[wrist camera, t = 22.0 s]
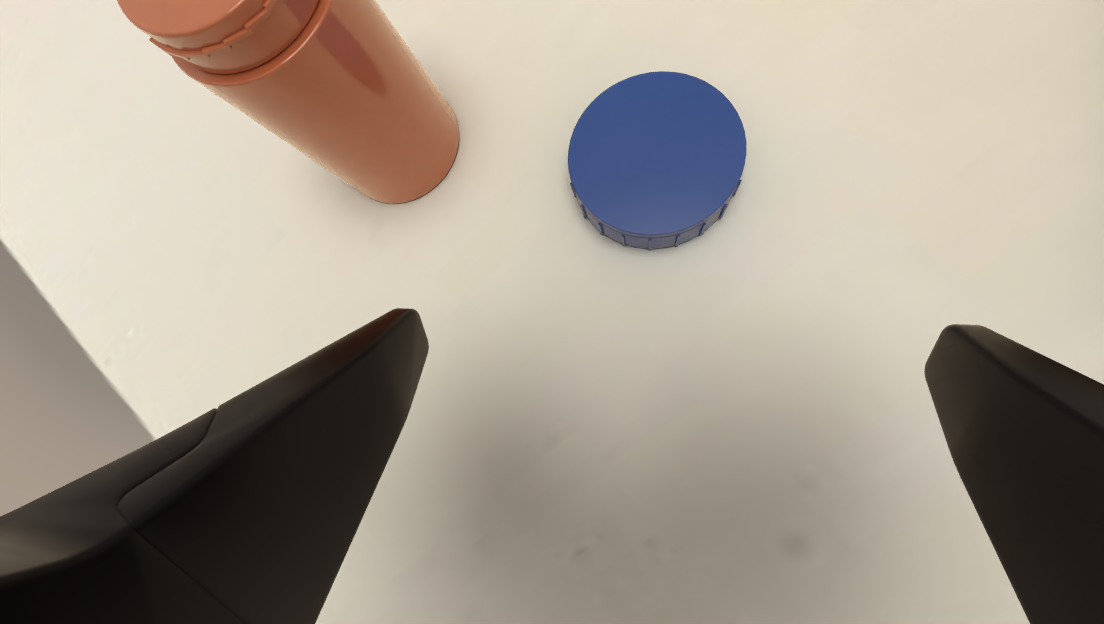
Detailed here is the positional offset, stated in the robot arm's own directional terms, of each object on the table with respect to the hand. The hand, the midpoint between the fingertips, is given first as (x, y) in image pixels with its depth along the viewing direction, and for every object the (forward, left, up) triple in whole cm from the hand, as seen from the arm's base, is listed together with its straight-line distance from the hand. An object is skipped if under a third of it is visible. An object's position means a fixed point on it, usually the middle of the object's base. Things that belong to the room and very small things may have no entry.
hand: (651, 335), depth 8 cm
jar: (+2, +15, -11) cm, 19 cm away
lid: (+7, +4, -9) cm, 12 cm away
